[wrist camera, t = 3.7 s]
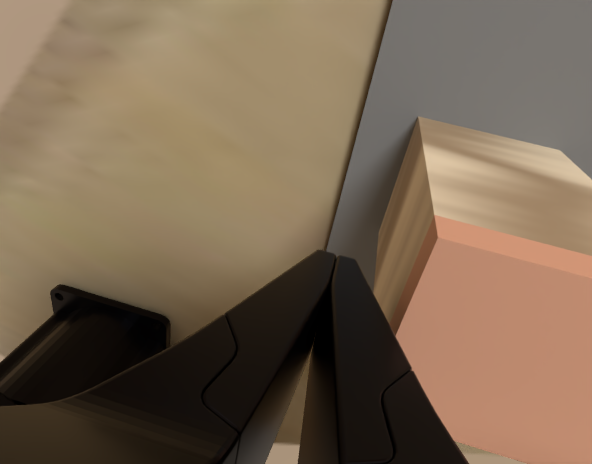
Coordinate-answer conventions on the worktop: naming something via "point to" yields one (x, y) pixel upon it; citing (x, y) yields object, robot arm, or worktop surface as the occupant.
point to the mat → (466, 94)
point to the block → (493, 289)
